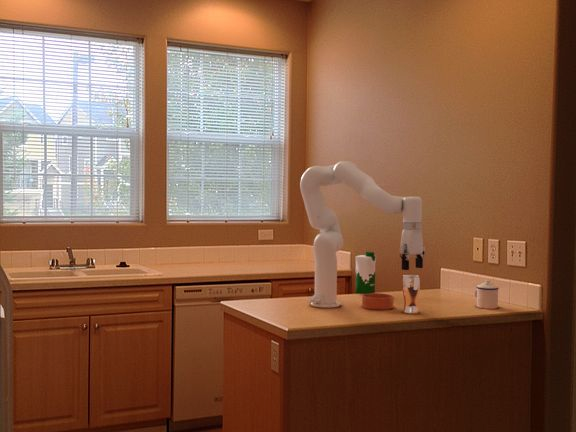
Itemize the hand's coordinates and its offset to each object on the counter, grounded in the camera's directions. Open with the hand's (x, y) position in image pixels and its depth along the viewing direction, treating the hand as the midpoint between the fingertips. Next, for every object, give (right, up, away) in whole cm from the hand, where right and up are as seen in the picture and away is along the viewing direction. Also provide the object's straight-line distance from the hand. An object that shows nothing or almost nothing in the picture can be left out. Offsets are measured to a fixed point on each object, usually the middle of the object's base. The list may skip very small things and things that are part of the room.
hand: (412, 268), depth 268 cm
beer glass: (-1, -18, +1) cm, 18 cm away
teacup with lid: (+34, -18, +16) cm, 42 cm away
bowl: (-13, -17, +11) cm, 24 cm away
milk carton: (-13, -16, +50) cm, 54 cm away
